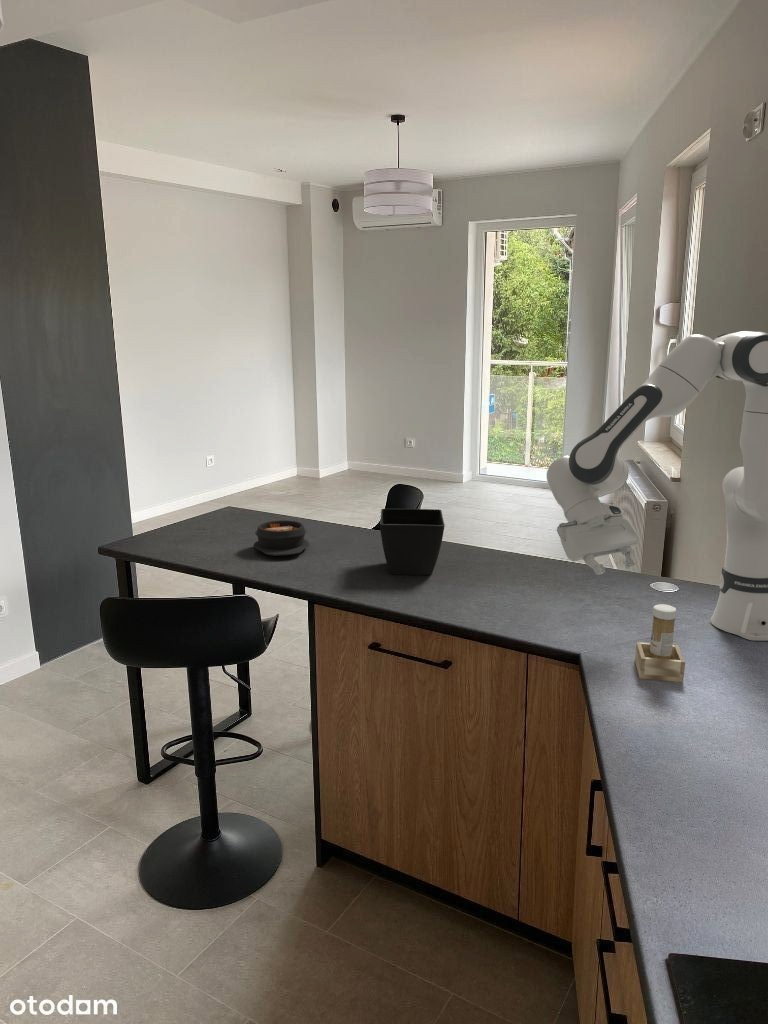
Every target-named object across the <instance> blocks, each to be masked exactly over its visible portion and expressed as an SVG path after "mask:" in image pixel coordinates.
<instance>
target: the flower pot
mask: <svg viewBox="0 0 768 1024" xmlns="http://www.w3.org/2000/svg"><path fill="white" fill-rule="evenodd" d="M445 525H446V524H445V521H444V517H443V511H442V509H439V508H438V509H436V508H435V509H434V508H431V509H430V508H429V509H428V508H381V509H380V521H379V528H380V529H379V530H380V538H381V542H382V543H381V544H382V550H383V554H384V557H385V562H386V565H387V569H388V571H389V574H391V575H402V576H403V575H406V576H407V575H411V576H414V575H415V576H416V575H417V576H422V575H423V576H430V575H432V574H433V572H434V570H435V566H436V564H437V561H438V559H439V555H440V552H441V551H440V550H441V547H442V542H443V539H444V538H443V537H444V532H445V527H446V526H445Z"/></svg>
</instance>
